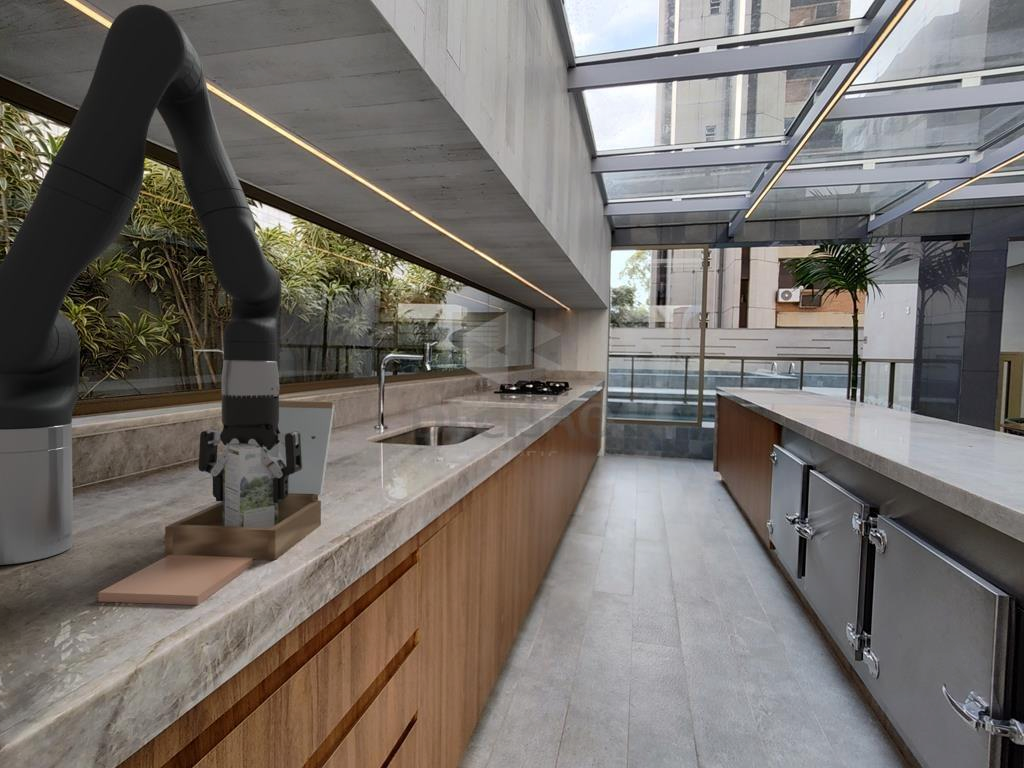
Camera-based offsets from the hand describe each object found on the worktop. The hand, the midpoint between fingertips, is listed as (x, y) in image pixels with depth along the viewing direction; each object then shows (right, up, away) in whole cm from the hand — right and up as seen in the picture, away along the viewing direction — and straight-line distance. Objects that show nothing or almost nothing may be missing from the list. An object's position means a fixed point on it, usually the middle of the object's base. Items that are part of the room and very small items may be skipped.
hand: (250, 501), depth 76 cm
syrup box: (0, -6, 0) cm, 6 cm away
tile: (-1, -6, -15) cm, 16 cm away
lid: (0, 0, +10) cm, 10 cm away
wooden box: (0, -6, +2) cm, 6 cm away
